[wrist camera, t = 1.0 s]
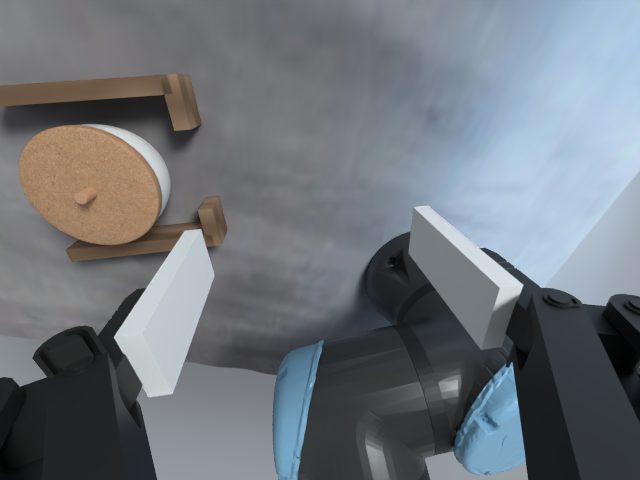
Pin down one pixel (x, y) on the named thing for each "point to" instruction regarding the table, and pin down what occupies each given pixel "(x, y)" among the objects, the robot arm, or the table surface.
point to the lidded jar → (95, 182)
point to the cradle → (182, 118)
